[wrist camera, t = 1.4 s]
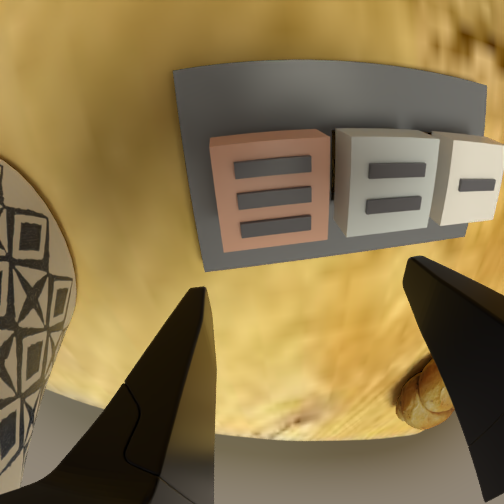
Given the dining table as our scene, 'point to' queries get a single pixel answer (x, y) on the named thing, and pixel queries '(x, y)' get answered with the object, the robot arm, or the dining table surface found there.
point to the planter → (28, 314)
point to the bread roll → (424, 399)
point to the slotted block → (271, 187)
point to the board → (312, 117)
